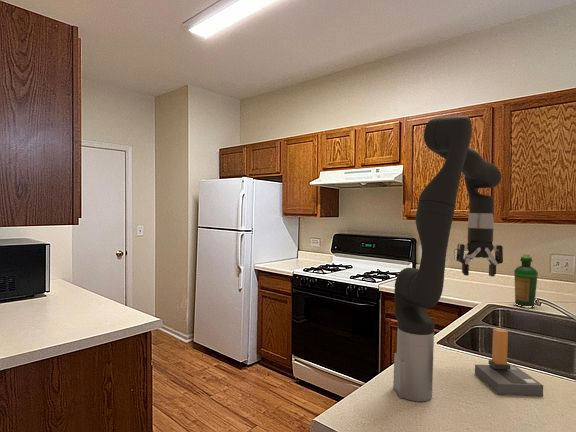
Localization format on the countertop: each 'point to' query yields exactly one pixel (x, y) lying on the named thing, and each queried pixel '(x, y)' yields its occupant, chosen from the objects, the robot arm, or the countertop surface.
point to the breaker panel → (509, 381)
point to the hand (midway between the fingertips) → (478, 275)
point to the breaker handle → (499, 349)
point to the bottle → (525, 282)
